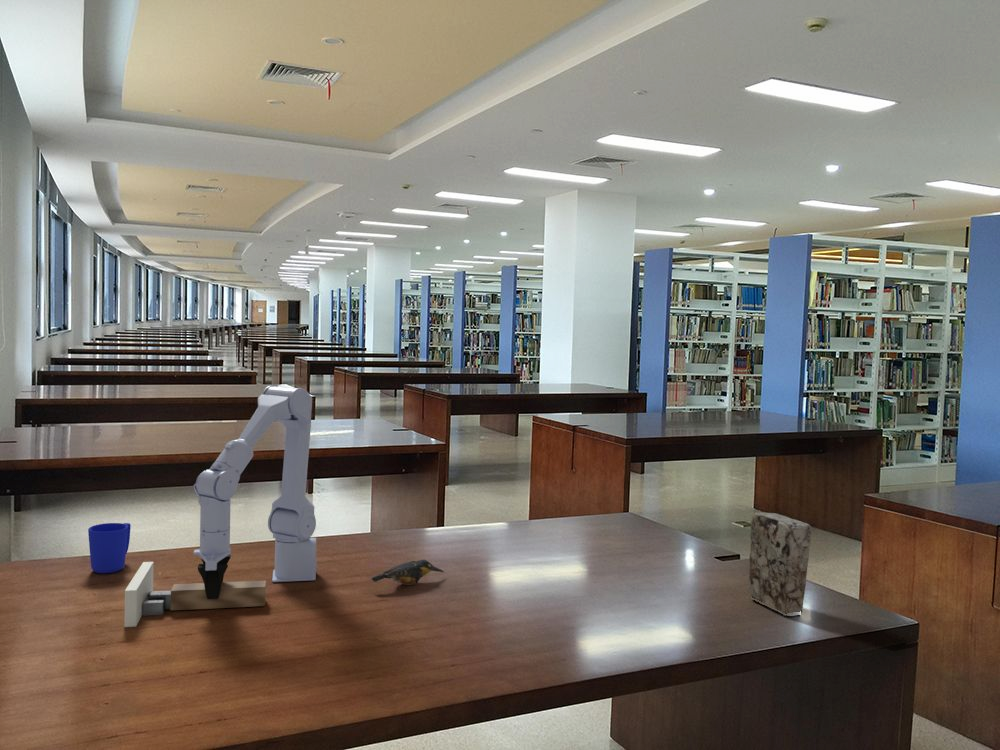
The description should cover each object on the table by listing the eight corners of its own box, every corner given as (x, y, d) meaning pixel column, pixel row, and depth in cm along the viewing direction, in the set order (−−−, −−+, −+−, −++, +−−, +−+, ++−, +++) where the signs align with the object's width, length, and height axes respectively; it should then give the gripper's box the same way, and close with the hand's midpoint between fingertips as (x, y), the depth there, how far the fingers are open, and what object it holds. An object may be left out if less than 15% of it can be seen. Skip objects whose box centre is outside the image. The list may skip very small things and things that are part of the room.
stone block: (809, 615, 167) (815, 523, 166) (785, 619, 164) (791, 526, 163) (763, 595, 179) (769, 509, 178) (740, 599, 176) (745, 511, 175)
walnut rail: (265, 599, 164) (265, 580, 164) (264, 605, 160) (265, 586, 160) (152, 604, 158) (152, 585, 158) (148, 611, 155) (149, 591, 154)
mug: (144, 561, 187) (144, 520, 186) (114, 577, 175) (114, 533, 174) (111, 559, 188) (112, 517, 187) (79, 574, 176) (80, 530, 175)
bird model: (377, 596, 169) (378, 573, 169) (365, 589, 173) (366, 567, 172) (449, 579, 182) (450, 558, 182) (437, 574, 186) (437, 553, 185)
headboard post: (172, 593, 166) (172, 561, 165) (157, 625, 148) (158, 589, 148) (142, 594, 164) (143, 562, 164) (124, 627, 147) (124, 590, 147)
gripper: (198, 520, 165) (197, 583, 165) (189, 539, 151) (188, 608, 151) (233, 519, 166) (232, 582, 167) (227, 538, 152) (226, 606, 153)
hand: (214, 594), depth 159 cm, fingers closed on walnut rail, 4 cm apart
